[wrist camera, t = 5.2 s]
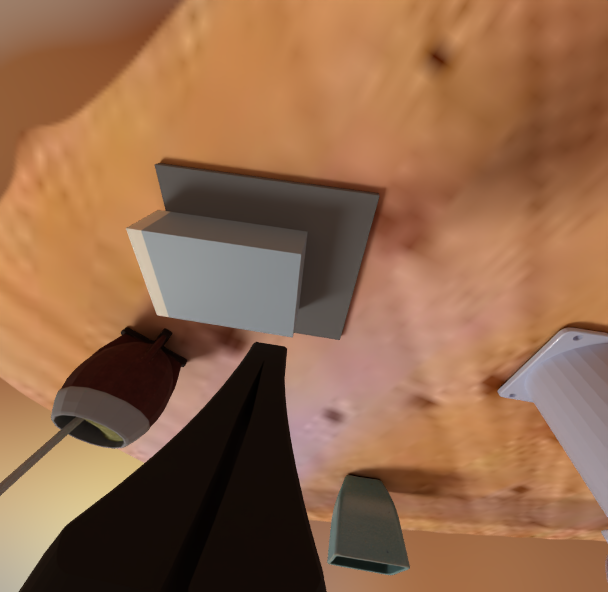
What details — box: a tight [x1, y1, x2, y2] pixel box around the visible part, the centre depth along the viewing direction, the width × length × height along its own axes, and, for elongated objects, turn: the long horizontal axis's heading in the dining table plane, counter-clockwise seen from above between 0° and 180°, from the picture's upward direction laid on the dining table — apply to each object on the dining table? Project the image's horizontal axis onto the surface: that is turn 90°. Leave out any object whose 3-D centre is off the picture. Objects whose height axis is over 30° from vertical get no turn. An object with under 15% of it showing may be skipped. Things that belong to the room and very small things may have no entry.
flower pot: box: [327, 475, 410, 575], centre depth 35 cm, size 9×9×9 cm
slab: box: [126, 210, 308, 337], centre depth 15 cm, size 3×6×9 cm
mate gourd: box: [0, 327, 187, 495], centre depth 18 cm, size 8×8×15 cm
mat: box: [155, 163, 380, 340], centre depth 17 cm, size 12×11×1 cm
